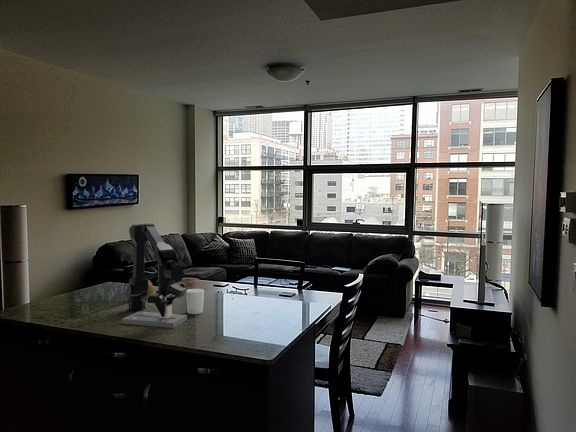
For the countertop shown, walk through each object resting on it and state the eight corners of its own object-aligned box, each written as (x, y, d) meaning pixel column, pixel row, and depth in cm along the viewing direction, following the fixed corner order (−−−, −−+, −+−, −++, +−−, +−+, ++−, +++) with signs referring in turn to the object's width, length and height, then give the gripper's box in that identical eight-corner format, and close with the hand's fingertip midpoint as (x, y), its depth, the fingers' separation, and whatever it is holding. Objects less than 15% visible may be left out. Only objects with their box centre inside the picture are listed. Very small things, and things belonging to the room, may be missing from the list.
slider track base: (122, 323, 179) (122, 318, 179) (138, 315, 190) (138, 310, 190) (173, 328, 173) (173, 322, 173) (187, 319, 185) (187, 314, 185)
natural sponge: (157, 297, 225) (157, 278, 224) (146, 301, 216) (146, 281, 216) (143, 295, 228) (143, 277, 227) (131, 299, 219) (131, 280, 219)
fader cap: (158, 317, 179) (158, 304, 179) (163, 315, 183) (163, 302, 183) (167, 318, 178) (167, 305, 178) (171, 316, 182) (171, 303, 182)
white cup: (199, 315, 192) (199, 292, 192) (183, 314, 194) (183, 291, 194) (206, 310, 200) (206, 289, 200) (190, 309, 202) (190, 288, 201)
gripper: (171, 283, 169) (171, 323, 170) (193, 275, 187) (193, 311, 188) (146, 282, 172) (146, 321, 172) (169, 273, 190) (169, 309, 190)
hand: (165, 315), depth 181 cm, fingers closed on fader cap, 3 cm apart
